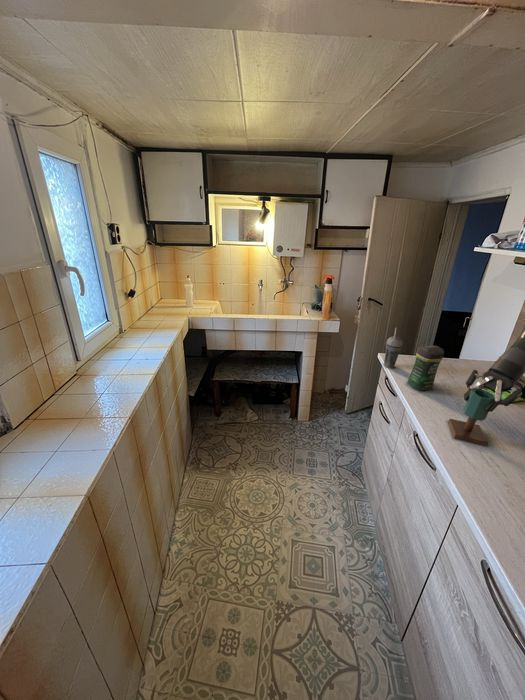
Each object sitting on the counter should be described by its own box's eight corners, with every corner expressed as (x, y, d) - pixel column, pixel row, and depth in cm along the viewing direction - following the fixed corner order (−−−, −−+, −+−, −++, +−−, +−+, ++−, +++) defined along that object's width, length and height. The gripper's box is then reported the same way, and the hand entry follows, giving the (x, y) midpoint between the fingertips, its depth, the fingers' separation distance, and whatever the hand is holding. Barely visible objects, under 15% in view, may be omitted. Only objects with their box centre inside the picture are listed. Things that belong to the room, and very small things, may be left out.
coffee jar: (417, 392, 116) (430, 352, 108) (403, 383, 123) (415, 344, 115) (435, 389, 119) (449, 350, 111) (421, 380, 126) (433, 342, 118)
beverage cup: (399, 369, 134) (410, 330, 126) (384, 369, 134) (394, 330, 126) (392, 362, 141) (402, 325, 132) (378, 362, 141) (387, 324, 132)
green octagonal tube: (481, 411, 93) (490, 391, 89) (487, 422, 88) (497, 401, 85) (461, 407, 95) (469, 387, 91) (466, 417, 90) (475, 396, 86)
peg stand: (477, 428, 97) (488, 405, 93) (486, 446, 89) (497, 422, 85) (448, 421, 100) (456, 399, 96) (454, 438, 92) (463, 414, 88)
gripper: (539, 382, 85) (501, 423, 85) (488, 361, 97) (455, 398, 97) (538, 370, 81) (499, 413, 81) (485, 350, 92) (450, 388, 92)
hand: (475, 404), depth 89 cm, fingers closed on green octagonal tube, 5 cm apart
